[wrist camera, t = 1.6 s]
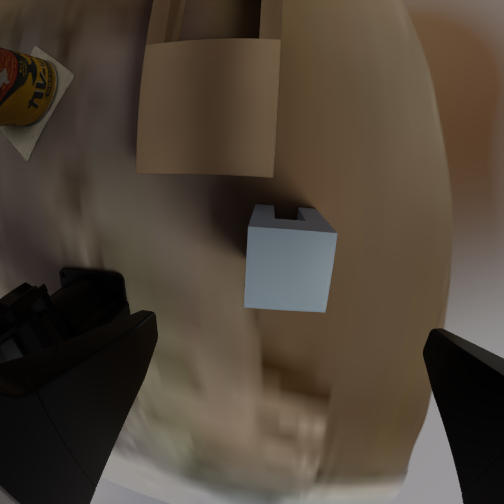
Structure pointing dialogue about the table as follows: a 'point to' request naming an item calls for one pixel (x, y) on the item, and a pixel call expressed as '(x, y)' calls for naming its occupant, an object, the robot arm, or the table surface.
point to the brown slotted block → (208, 98)
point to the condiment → (29, 95)
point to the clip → (289, 260)
